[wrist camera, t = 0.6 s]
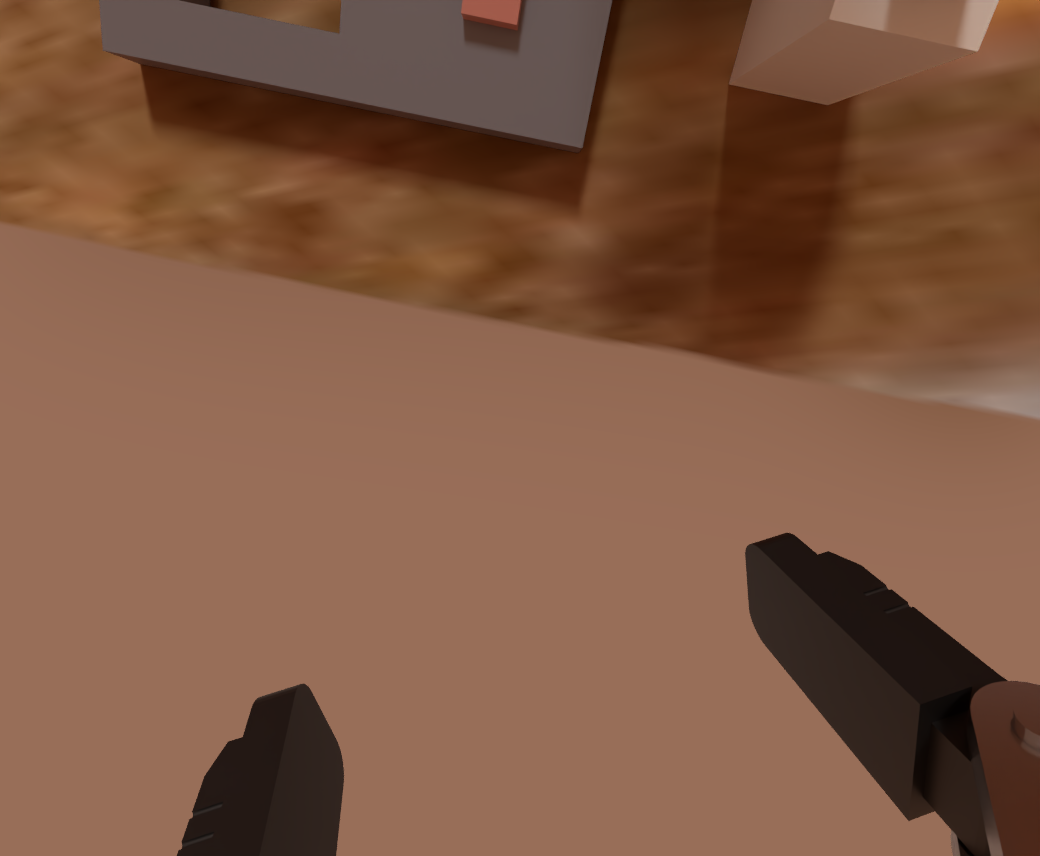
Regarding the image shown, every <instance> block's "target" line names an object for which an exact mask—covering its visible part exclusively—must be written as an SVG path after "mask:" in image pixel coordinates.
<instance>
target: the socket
mask: <svg viewBox="0 0 1040 856" xmlns="http://www.w3.org/2000/svg"><path fill="white" fill-rule="evenodd" d="M99 4H100V17H101V31H102V45H103V51H106V52H109V53H112V54H114V55H117V56H120V57H123V58H125V59H128V60H131V61H133V62H136V63H139V64H143V65H148V66H153V67H158V68H163V69H168V70H173V71H178V72H183V73H187V74H192V75H197V76H202V77H207V78H212V79H217V80H222V81H227V82H232V83H237V84H241V85H246V86H251V87H256V88H261V89H266V90H271V91H276V92H281V93H286V94H291V95H295V96H300V97H305V98H310V99H315V100H320V101H325V102H330V103H335V104H340V105H345V106H349V107H354V108H359V109H364V110H369V111H374V112H379V113H384V114H389V115H394V116H399V117H403V118H408V119H413V120H418V121H423V122H428V123H433V124H438V125H443V126H448V127H453V128H457V129H462V130H467V131H472V132H477V133H482V134H487V135H492V136H497V137H502V138H507V139H511V140H516V141H521V142H526V143H531V144H536V145H541V146H546V147H551V148H556V149H561V150H565V151H570V152H575V153H579V152H580V151H581V149H582V147H583V142H584V137H585V133H586V128H587V123H588V118H589V113H590V108H591V103H592V98H593V93H594V88H595V83H596V78H597V73H598V68H599V64H600V59H601V54H602V49H603V44H604V39H605V34H606V29H607V24H608V19H609V14H610V9H611V4H612V0H341V18H340V34H337V33H333V32H328V31H323V30H318V29H313V28H309V27H304V26H299V25H294V24H289V23H285V22H280V21H275V20H270V19H266V18H261V17H256V16H251V15H246V14H242V13H237V12H232V11H227V10H222V9H218V8H213V7H210V0H99Z"/></svg>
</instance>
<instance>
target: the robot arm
mask: <svg viewBox="0 0 1040 856" xmlns="http://www.w3.org/2000/svg"><path fill="white" fill-rule="evenodd" d="M745 555H746V571H747V585H748V600H749V610H750V616H751V619H752V622H753V624H754V627H755V629H756V631H757V633H758V635H759V637H760V638H761V640H762V642H763V643H764V644H765V646H766V647H767V648H768V649H769V651H770V652H771V653H772V654H773V655H774V657H775V658H776V659H777V660H778V661H779V663H780V664H781V665H782V666H783V668H784V669H785V670H786V671H787V673H788V674H789V675H790V676H791V677H792V679H793V680H794V681H795V682H796V683H797V685H798V686H799V687H800V688H801V689H802V691H803V692H804V693H805V695H806V696H807V697H808V698H809V700H810V701H811V702H812V703H813V704H814V705H815V707H816V708H817V709H818V711H819V712H820V713H821V714H822V715H823V717H824V718H825V719H826V720H827V722H828V723H829V724H830V725H831V726H832V728H833V729H834V730H835V731H836V732H837V734H838V735H839V736H840V737H841V738H842V740H843V741H844V742H845V743H846V745H847V746H848V747H849V748H850V750H851V751H852V752H853V753H854V755H855V756H856V757H857V758H858V759H859V761H860V762H861V763H862V764H863V765H864V767H865V768H866V769H867V771H868V772H869V773H870V774H871V775H872V777H873V778H874V779H875V780H876V782H877V783H878V784H879V785H880V786H881V788H882V789H883V790H884V791H885V793H886V794H887V795H888V796H889V797H890V799H891V800H892V801H893V802H894V803H895V805H896V806H897V807H898V808H899V810H900V811H901V812H902V813H903V815H904V816H905V817H906V818H907V819H908V820H909V821H910V820H912V819H915V818H918V817H920V816H923V815H926V814H928V813H931V812H934V811H936V813H937V814H938V815H939V816H940V817H941V818H942V819H943V820H944V822H945V823H946V824H947V825H948V826H949V827H950V828H951V830H952V831H951V845H952V852H953V856H1040V685H1037V684H1032V683H1027V682H1018V681H1007V680H1006V679H1004V678H1003V677H1001V676H1000V675H999V674H997V673H996V672H995V671H994V670H993V669H991V668H990V667H989V666H987V665H986V664H985V663H984V662H982V661H981V660H980V659H979V658H977V657H976V656H975V655H974V654H972V653H971V652H970V651H968V650H967V649H966V648H965V647H964V646H962V645H961V644H959V643H958V642H957V641H956V640H955V639H953V638H952V637H951V636H950V635H948V634H947V633H946V632H944V631H943V630H942V629H941V628H940V627H938V626H937V625H936V624H934V623H933V622H932V621H931V620H929V619H928V618H927V617H925V616H924V615H923V614H922V613H921V612H919V611H918V610H917V609H916V608H914V607H912V608H911V607H909V605H908V602H907V601H905V600H904V599H903V598H902V597H900V596H899V595H898V594H897V593H895V592H894V591H893V590H888V589H887V587H886V585H885V584H884V583H883V582H881V581H880V580H879V579H878V578H876V577H875V576H874V575H872V574H871V573H870V572H869V571H868V570H866V569H865V568H864V567H863V566H861V565H859V564H857V563H855V562H852V561H850V560H847V559H845V558H843V557H840V556H838V555H836V554H834V553H831V552H829V551H828V552H825V553H822V554H818V555H817V554H816V553H815V552H814V551H812V549H810V548H809V547H808V546H807V545H806V544H804V543H803V542H802V541H801V540H800V539H798V538H797V537H796V536H795V535H793V534H791V533H784V534H781V535H778V536H775V537H772V538H769V539H766V540H762V541H759V542H756V543H753V544H750V545H748V546H747V548H746V552H745ZM343 783H344V770H343V761H342V755H341V751H340V748H339V745H338V742H337V740H336V738H335V736H334V734H333V732H332V730H331V728H330V726H329V724H328V723H327V721H326V719H325V717H324V715H323V713H322V711H321V709H320V707H319V705H318V703H317V701H316V699H315V697H314V696H313V694H312V692H311V690H310V688H309V687H308V686H307V685H305V684H300V685H297V686H294V687H290V688H287V689H284V690H281V691H278V692H274V693H271V694H268V695H265V696H262V697H259V698H257V699H256V700H255V702H254V704H253V706H252V708H251V712H250V715H249V718H248V722H247V725H246V728H245V732H244V735H243V737H242V738H239V739H235V740H232V741H229V742H228V743H227V744H226V746H225V747H224V749H223V750H222V751H221V753H220V754H219V756H218V757H217V759H216V760H215V762H214V763H213V765H212V766H211V768H210V769H209V771H208V772H207V773H206V775H205V777H204V779H203V782H202V785H201V788H200V791H199V794H198V797H197V799H196V802H195V805H194V808H193V811H192V812H193V818H191V819H190V820H189V822H188V825H187V828H186V831H185V834H184V837H183V840H182V849H181V850H179V851H178V854H177V856H336V850H337V840H338V831H339V821H340V812H341V803H342V793H343Z"/></svg>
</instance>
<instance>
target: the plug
mask: <svg viewBox="0 0 1040 856" xmlns="http://www.w3.org/2000/svg"><path fill="white" fill-rule="evenodd" d="M998 1H999V0H752V3H751V6H750V10H749V13H748V17H747V21H746V24H745V28H744V31H743V35H742V39H741V42H740V46H739V49H738V53H737V57H736V60H735V64H734V67H733V71H732V74H731V78H730V82H729V85H734V86H739V87H743V88H748V89H753V90H758V91H762V92H767V93H772V94H777V95H781V96H786V97H791V98H796V99H800V100H805V101H810V102H814V103H819V104H824V105H830V104H833V103H836V102H839V101H841V100H844V99H847V98H850V97H852V96H855V95H858V94H861V93H864V92H866V91H869V90H872V89H875V88H878V87H880V86H883V85H886V84H889V83H892V82H894V81H897V80H900V79H903V78H906V77H908V76H911V75H914V74H917V73H920V72H922V71H925V70H928V69H931V68H933V67H936V66H939V65H942V64H945V63H947V62H950V61H953V60H956V59H959V58H961V57H964V56H967V55H970V54H973V53H975V52H978V50H979V47H980V45H981V43H982V40H983V38H984V35H985V33H986V30H987V28H988V26H989V23H990V21H991V18H992V16H993V13H994V11H995V9H996V6H997V4H998Z"/></svg>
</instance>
